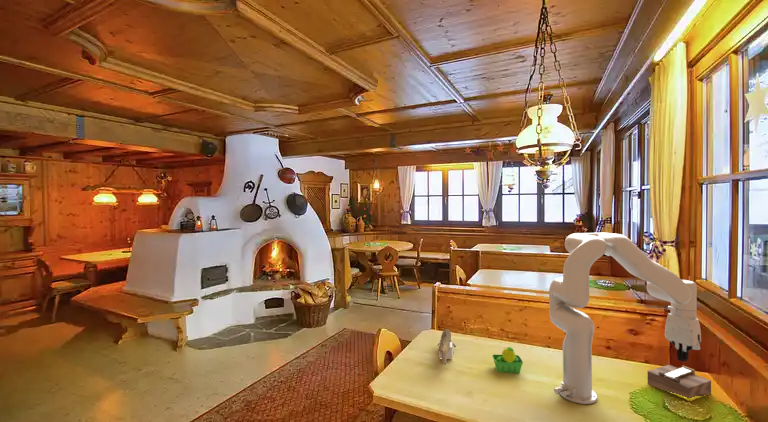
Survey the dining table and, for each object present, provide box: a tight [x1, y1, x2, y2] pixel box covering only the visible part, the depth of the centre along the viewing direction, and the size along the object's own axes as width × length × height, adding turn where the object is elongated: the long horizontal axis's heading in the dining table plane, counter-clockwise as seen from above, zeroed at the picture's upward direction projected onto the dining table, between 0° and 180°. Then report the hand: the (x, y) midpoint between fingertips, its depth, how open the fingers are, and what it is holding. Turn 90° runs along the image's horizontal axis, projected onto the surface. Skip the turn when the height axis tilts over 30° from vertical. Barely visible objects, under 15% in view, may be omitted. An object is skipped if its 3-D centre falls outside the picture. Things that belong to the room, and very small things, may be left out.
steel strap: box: [664, 366, 691, 380], centre depth 135 cm, size 11×3×1 cm, turn 111°
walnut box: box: [647, 364, 712, 398], centre depth 135 cm, size 13×14×7 cm
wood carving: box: [437, 328, 457, 364], centre depth 166 cm, size 9×35×11 cm, turn 168°
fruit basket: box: [492, 346, 524, 374], centre depth 153 cm, size 11×9×11 cm
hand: (682, 360), depth 136 cm, fingers closed
